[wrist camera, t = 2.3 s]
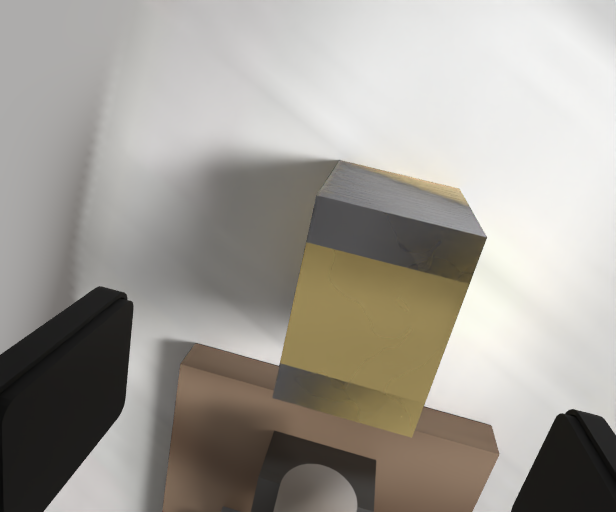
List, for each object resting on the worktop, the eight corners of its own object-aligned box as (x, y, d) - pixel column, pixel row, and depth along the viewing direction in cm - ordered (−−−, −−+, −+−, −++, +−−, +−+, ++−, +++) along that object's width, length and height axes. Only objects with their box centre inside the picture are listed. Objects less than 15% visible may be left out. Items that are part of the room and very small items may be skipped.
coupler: (339, 160, 16) (316, 195, 11) (459, 188, 15) (487, 237, 11) (303, 315, 18) (272, 398, 13) (407, 343, 18) (411, 437, 13)
